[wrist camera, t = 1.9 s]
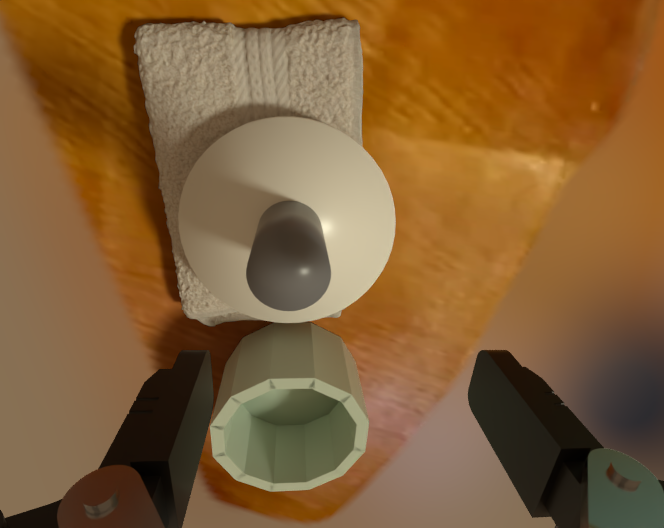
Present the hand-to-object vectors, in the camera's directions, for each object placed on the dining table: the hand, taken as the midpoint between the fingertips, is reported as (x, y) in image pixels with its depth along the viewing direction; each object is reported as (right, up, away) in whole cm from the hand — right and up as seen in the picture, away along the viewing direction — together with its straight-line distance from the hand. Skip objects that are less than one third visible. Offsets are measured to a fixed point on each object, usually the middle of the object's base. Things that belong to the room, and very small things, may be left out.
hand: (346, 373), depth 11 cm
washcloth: (-5, +8, +13) cm, 16 cm away
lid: (-3, +6, +11) cm, 13 cm away
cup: (-4, -6, +18) cm, 20 cm away
